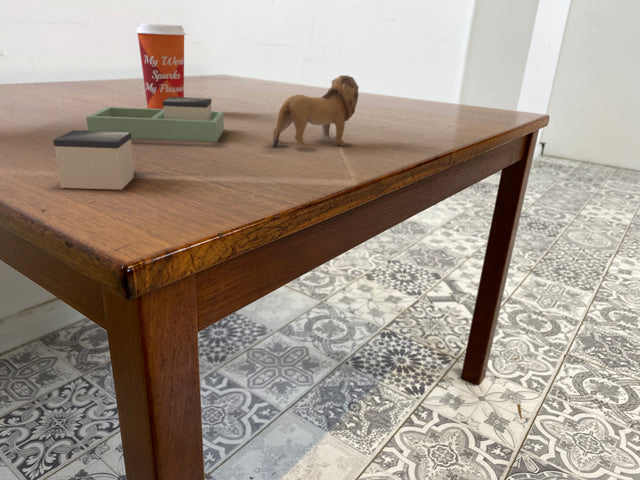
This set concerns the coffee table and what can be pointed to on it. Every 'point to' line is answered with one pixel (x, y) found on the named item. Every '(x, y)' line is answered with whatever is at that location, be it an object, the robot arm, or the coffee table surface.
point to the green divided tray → (155, 124)
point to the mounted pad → (187, 108)
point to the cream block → (94, 159)
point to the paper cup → (162, 62)
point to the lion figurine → (319, 111)
